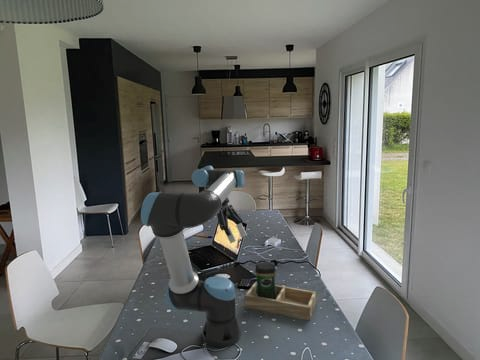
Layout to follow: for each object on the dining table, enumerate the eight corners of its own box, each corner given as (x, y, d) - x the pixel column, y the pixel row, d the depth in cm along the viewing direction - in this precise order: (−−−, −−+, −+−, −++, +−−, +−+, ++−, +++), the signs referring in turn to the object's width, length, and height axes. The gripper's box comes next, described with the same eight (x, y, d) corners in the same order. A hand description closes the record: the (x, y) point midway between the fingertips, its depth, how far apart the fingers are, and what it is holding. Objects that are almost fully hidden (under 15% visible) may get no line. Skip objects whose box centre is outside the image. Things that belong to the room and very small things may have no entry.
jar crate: (309, 320, 152) (309, 307, 151) (245, 307, 163) (244, 295, 162) (316, 303, 165) (316, 291, 164) (255, 292, 176) (255, 281, 175)
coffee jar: (275, 295, 171) (275, 259, 167) (277, 304, 163) (276, 266, 159) (255, 296, 171) (254, 259, 167) (255, 304, 163) (255, 266, 160)
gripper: (223, 199, 179) (242, 237, 176) (199, 203, 156) (221, 248, 152) (235, 192, 176) (255, 231, 173) (213, 196, 153) (235, 241, 150)
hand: (239, 239), depth 163 cm, fingers open, 13 cm apart
